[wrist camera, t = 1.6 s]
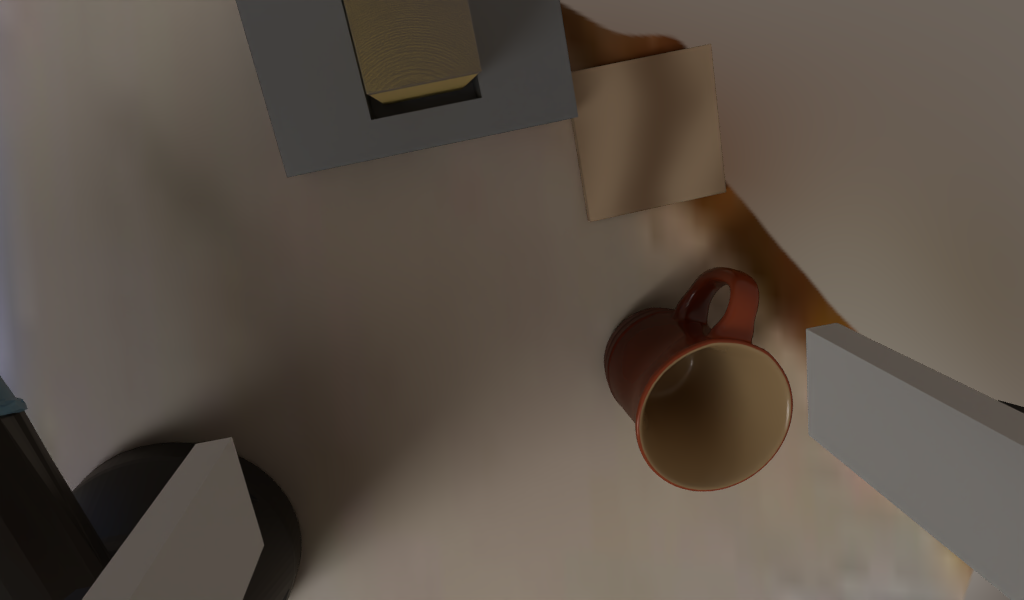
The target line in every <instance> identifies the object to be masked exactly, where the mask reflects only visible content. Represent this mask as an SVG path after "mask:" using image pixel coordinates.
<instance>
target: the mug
mask: <svg viewBox="0 0 1024 600" xmlns="http://www.w3.org/2000/svg"><path fill="white" fill-rule="evenodd" d="M724 285H729V287H730V300H729V304H728V307H727V310H726V312H725V314H724V316H723V317H722V318H721V320H720V321H719V322H718V323H717V324H716V325H715V326H714V327H713V328H712V329H711V328H710V327H709V326H708V324H707V317H708V311H709V305H710V302H711V300H712V298H713V296H714V295H715V293H716V292H717V291H718V290H719V289H720V288H721V287H722V286H724ZM758 304H759V290H758V286H757V283H756V282H755V281H754V279H753V278H752V277H751V276H749V275H748V274H746V273H744V272H741V271H738V270H735V269H731V268H725V267H716V268H712V269H709V270H707V271H705V272H704V273H702V274H701V275H700V276H699V277H698V278H697V279H696V280H695V282H694V283H693V284H692V286H691V287H690V288H689V290H688V291H687V292H686V293H685V295H684V296H683V297H682V298H681V300H680V301H679V303H678V304H677V306H676V308H675V309H668V308H655V307H654V308H648V309H645V310H642V311H639V312H637V313H635V314H633V315H631V316H630V317H628V318H627V319H626V320H624V321H623V322H622V323H621V324H620V325H619V326H618V327H617V328H616V329H615V331H614V332H613V334H612V335H611V337H610V339H609V341H608V343H607V346H606V350H605V355H604V368H605V374H606V379H607V382H608V385H609V388H610V390H611V393H612V395H613V397H614V398H615V400H616V401H617V402H618V403H619V405H620V406H621V407H622V408H623V409H624V410H625V412H626V413H627V414H628V416H629V417H630V418H631V419H632V420H633V421H634V423H635V430H636V437H637V442H638V446H639V449H640V451H641V454H642V456H643V458H644V459H645V461H646V463H647V464H648V466H649V467H650V468H651V469H652V470H653V471H654V472H655V473H656V474H657V475H658V476H659V477H661V478H662V479H663V480H665V481H666V482H668V483H670V484H672V485H674V486H676V487H679V488H682V489H686V490H691V491H715V490H721V489H725V488H728V487H731V486H734V485H737V484H739V483H741V482H743V481H745V480H747V479H748V478H750V477H752V476H753V475H755V474H756V473H757V472H759V471H760V470H761V469H762V468H763V467H764V466H765V465H767V463H768V462H769V461H770V460H771V459H772V458H773V457H774V455H775V454H776V453H777V451H778V450H779V448H780V447H781V445H782V443H783V441H784V440H785V437H786V435H787V433H788V430H789V427H790V423H791V418H792V411H793V399H792V392H791V387H790V384H789V381H788V379H787V376H786V374H785V373H784V371H783V369H782V368H781V366H780V365H779V363H778V362H777V361H776V360H775V358H774V357H773V356H772V355H771V354H770V353H769V352H767V351H766V350H764V349H762V348H760V347H758V346H756V345H753V344H752V337H753V332H754V321H755V317H756V313H757V309H758Z"/></svg>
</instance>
